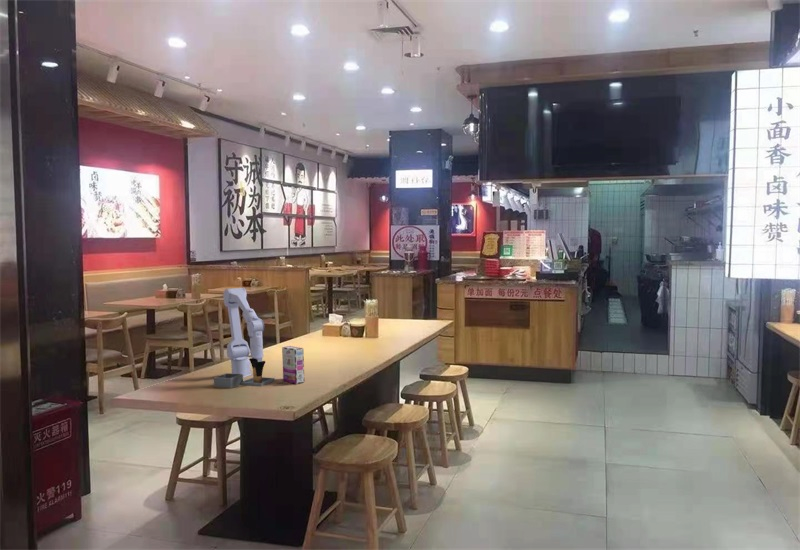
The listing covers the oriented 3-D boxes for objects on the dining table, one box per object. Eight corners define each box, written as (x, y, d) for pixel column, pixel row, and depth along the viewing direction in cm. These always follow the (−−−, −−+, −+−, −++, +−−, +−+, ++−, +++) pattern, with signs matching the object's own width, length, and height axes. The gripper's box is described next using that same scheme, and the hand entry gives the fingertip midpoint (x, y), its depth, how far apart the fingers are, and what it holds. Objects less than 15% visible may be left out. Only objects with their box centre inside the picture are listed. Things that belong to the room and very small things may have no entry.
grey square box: (226, 383, 289) (226, 373, 288) (243, 384, 285) (242, 374, 285) (214, 388, 280) (213, 377, 280) (231, 389, 277) (230, 378, 277)
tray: (254, 380, 294) (254, 376, 293) (274, 381, 290) (274, 378, 290) (241, 385, 283) (241, 382, 283) (261, 387, 279) (261, 383, 279)
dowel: (256, 381, 289) (256, 366, 289) (263, 381, 288) (263, 367, 287) (251, 383, 285) (251, 368, 285) (258, 383, 284) (258, 368, 283)
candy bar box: (305, 382, 287) (303, 347, 286) (296, 384, 283) (295, 349, 282) (291, 379, 294) (290, 345, 294) (282, 381, 291) (281, 346, 290)
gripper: (245, 344, 290) (246, 372, 291) (250, 348, 277) (251, 378, 278) (259, 342, 293) (261, 370, 294) (266, 347, 280) (267, 376, 281)
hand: (257, 374), depth 286 cm, fingers open, 7 cm apart
